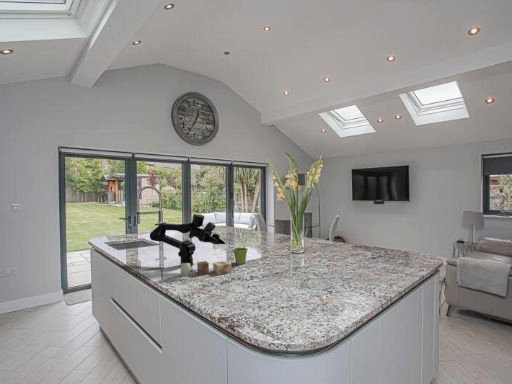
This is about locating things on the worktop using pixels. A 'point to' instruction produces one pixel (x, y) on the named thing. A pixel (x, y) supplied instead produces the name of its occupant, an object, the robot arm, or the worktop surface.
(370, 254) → the worktop surface
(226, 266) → the oak block
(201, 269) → the walnut cube
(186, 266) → the sage cylinder
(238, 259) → the plant pot
